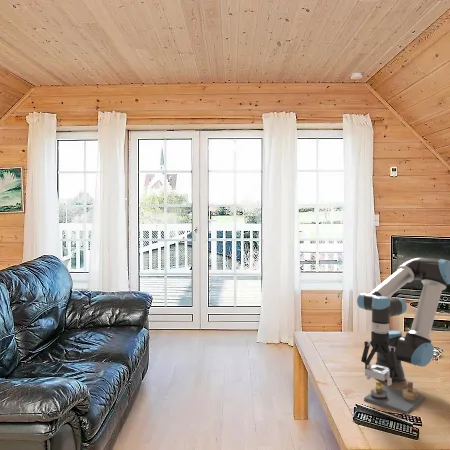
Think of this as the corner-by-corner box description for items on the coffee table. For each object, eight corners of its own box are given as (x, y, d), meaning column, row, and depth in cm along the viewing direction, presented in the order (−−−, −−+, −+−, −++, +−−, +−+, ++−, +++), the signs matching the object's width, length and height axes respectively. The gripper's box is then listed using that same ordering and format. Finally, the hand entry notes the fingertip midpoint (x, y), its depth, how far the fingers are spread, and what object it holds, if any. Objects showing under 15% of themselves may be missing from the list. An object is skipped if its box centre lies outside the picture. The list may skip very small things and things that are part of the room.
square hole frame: (374, 370, 209) (374, 364, 209) (393, 375, 203) (393, 369, 202) (364, 375, 202) (364, 368, 202) (384, 381, 196) (384, 374, 196)
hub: (375, 391, 208) (375, 378, 208) (390, 396, 203) (390, 383, 203) (367, 396, 203) (368, 383, 203) (382, 401, 198) (383, 387, 198)
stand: (405, 394, 206) (406, 378, 205) (419, 398, 201) (419, 382, 201) (400, 398, 201) (400, 382, 201) (413, 402, 197) (414, 386, 197)
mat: (384, 387, 216) (384, 385, 216) (425, 399, 203) (425, 397, 203) (364, 400, 202) (364, 397, 202) (406, 414, 188) (406, 411, 188)
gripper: (353, 328, 207) (352, 377, 208) (400, 338, 192) (399, 391, 192) (361, 325, 212) (360, 373, 213) (408, 335, 197) (406, 386, 198)
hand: (378, 381), depth 203 cm, fingers closed on square hole frame, 9 cm apart
